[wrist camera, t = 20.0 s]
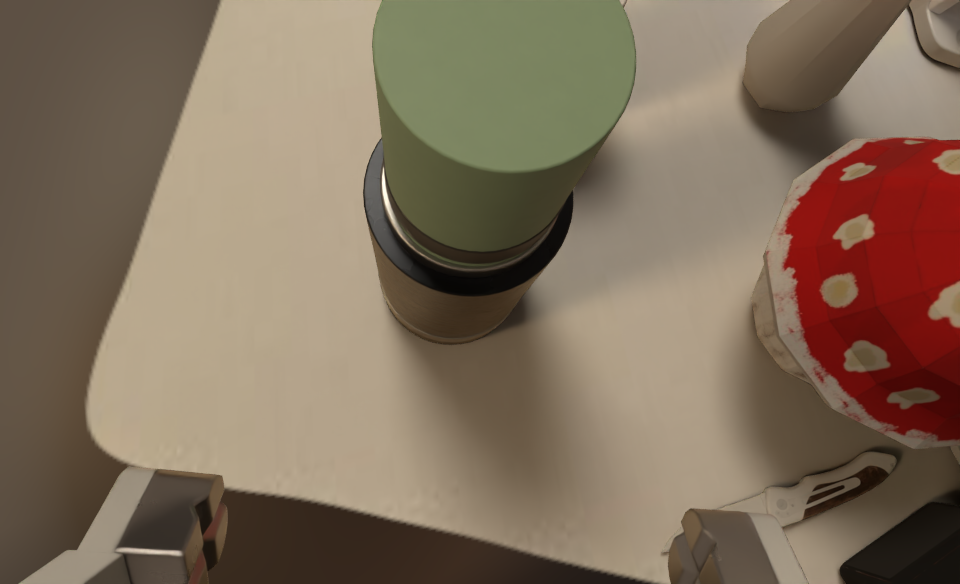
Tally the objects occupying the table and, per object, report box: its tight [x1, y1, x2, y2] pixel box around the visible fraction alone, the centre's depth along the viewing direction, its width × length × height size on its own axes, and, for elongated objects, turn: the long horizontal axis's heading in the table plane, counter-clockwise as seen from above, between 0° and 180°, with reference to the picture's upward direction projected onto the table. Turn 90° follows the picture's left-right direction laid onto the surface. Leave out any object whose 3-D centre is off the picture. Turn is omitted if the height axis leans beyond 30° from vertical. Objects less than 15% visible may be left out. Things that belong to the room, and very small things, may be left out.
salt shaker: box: [743, 0, 912, 113], centre depth 33 cm, size 6×6×13 cm
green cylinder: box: [372, 0, 636, 266], centre depth 18 cm, size 6×6×8 cm
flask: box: [363, 138, 573, 345], centre depth 29 cm, size 7×7×14 cm
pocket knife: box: [662, 452, 897, 552], centre depth 34 cm, size 14×1×2 cm
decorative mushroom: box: [751, 137, 960, 449], centre depth 29 cm, size 14×14×15 cm
